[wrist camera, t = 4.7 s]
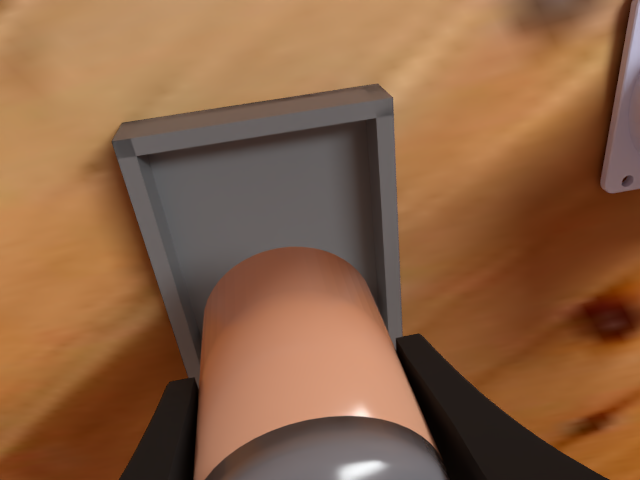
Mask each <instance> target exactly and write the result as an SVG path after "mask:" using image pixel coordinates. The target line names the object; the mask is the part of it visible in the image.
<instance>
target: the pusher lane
mask: <svg viewBox="0 0 640 480" xmlns="http://www.w3.org/2000/svg"><path fill="white" fill-rule="evenodd" d="M112 144H113V147H114V150H115V153H116V156H117V159H118V162H119V166H120V169H121V172H122V175H123V178H124V181H125V184H126V187H127V190H128V193H129V196H130V199H131V202H132V206H133V209H134V212H135V215H136V218H137V221H138V224H139V227H140V230H141V233H142V236H143V239H144V242H145V246H146V249H147V252H148V255H149V258H150V261H151V264H152V267H153V270H154V273H155V276H156V279H157V282H158V286H159V289H160V292H161V295H162V298H163V301H164V304H165V307H166V310H167V313H168V316H169V319H170V323H171V326H172V329H173V332H174V335H175V338H176V341H177V344H178V347H179V350H180V353H181V356H182V359H183V363H184V366H185V369H186V372H187V375H188V378H192V377H195V380H196V383H197V386H198V389H199V378H200V361H201V345H202V329H203V316H204V309H205V306H206V303H207V300H208V298H209V296H210V294H211V292H212V290H213V289H214V287H215V286H216V284H217V283H218V281H219V280H220V279H221V278H222V277H223V276H224V275H225V274H226V273H227V272H228V271H229V270H231V269H232V268H233V267H234V266H236V265H237V264H239V263H240V262H242V261H243V260H245V259H247V258H249V257H251V256H253V255H256V254H259V253H261V252H264V251H268V250H272V249H276V248H283V247H309V248H315V249H319V250H324V251H327V252H329V253H332V254H335V255H337V256H338V257H340V258H342V259H344V260H345V261H347V262H348V263H350V264H351V265H352V266H353V267H354V268H355V269H356V270H357V271H358V272H359V273H360V274H361V275H362V277H363V278H364V279H365V281H366V283H367V285H368V287H369V289H370V291H371V293H372V296H373V298H374V300H375V303H376V305H377V307H378V310H379V312H380V314H381V317H382V319H383V321H384V324H385V326H386V328H387V331H388V333H389V335H390V338H391V340H392V343H393V345H394V347H395V350H396V338H398V337H403V336H402V311H401V286H400V262H399V237H398V212H397V187H396V163H395V138H394V113H393V97H392V96H391V95H390V94H388V93H387V92H386V91H385V90H384V89H383V88H382V87H381V86H380V85H379V84H372V85H366V86H359V87H353V88H346V89H340V90H333V91H327V92H320V93H314V94H307V95H301V96H294V97H288V98H281V99H275V100H268V101H262V102H255V103H248V104H242V105H235V106H229V107H222V108H216V109H209V110H203V111H196V112H190V113H183V114H177V115H170V116H164V117H157V118H151V119H144V120H138V121H131V122H125V123H122V124H121V126H120V128H119V129H118V131H117V133H116V135H115V136H114V138H113V140H112Z"/></svg>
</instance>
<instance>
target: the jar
mask: <svg viewBox="0 0 640 480" xmlns="http://www.w3.org/2000/svg"><path fill="white" fill-rule="evenodd" d="M193 480H451V479H450V476H449V474H448V472H447V469H446V467H445V465H444V462H443V460H442V457H441V455H440V453H439V450H438V448H437V446H436V443H435V441H434V439H433V436H432V434H431V432H430V429H429V427H428V425H427V422H426V420H425V418H424V415H423V413H422V411H421V408H420V406H419V404H418V401H417V399H416V396H415V394H414V392H413V389H412V387H411V385H410V382H409V380H408V378H407V375H406V373H405V371H404V368H403V366H402V364H401V361H400V359H399V357H398V354H397V352H396V350H395V347H394V345H393V343H392V340H391V338H390V335H389V333H388V331H387V328H386V326H385V324H384V321H383V319H382V317H381V314H380V312H379V310H378V307H377V305H376V303H375V300H374V298H373V296H372V293H371V291H370V289H369V287H368V285H367V283H366V281H365V279H364V278H363V277H362V275H361V274H360V273H359V272H358V271H357V270H356V269H355V268H354V267H353V266H352V265H351V264H350V263H348V262H347V261H345V260H344V259H342V258H340V257H338V256H337V255H335V254H332V253H329V252H327V251H324V250H319V249H315V248H309V247H283V248H276V249H272V250H268V251H264V252H261V253H259V254H256V255H253V256H251V257H249V258H247V259H245V260H243V261H242V262H240V263H239V264H237V265H236V266H234V267H233V268H232V269H231V270H229V271H228V272H227V273H226V274H225V275H224V276H223V277H222V278H221V279H220V280H219V281H218V283H217V284H216V286H215V287H214V289H213V290H212V292H211V294H210V296H209V298H208V300H207V303H206V306H205V309H204V316H203V329H202V345H201V361H200V378H199V394H198V410H197V426H196V442H195V458H194V474H193Z"/></svg>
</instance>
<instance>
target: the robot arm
mask: <svg viewBox="0 0 640 480" xmlns="http://www.w3.org/2000/svg"><path fill="white" fill-rule="evenodd" d="M626 176H627V179H626V180H625V181H624V182H622V180H623V179H624V178H625V177H626ZM600 185H601V187H602V189H603V190H605V191H607V192H608V193H618V192H624V191H630V190H635V189H640V0H633V1H632V3H631V8H630V14H629V20H628V26H627V31H626V37H625V43H624V49H623V54H622V60H621V66H620V72H619V78H618V83H617V89H616V95H615V101H614V106H613V112H612V118H611V124H610V129H609V135H608V141H607V147H606V152H605V158H604V164H603V170H602V176H601V181H600ZM396 352H397V354H398V357H399V359H400V361H401V364H402V366H403V368H404V371H405V373H406V375H407V378H408V380H409V382H410V385H411V387H412V389H413V392H414V394H415V396H416V399H417V401H418V404H419V406H420V408H421V411H422V413H423V415H424V418H425V420H426V422H427V425H428V427H429V429H430V432H431V434H432V436H433V439H434V441H435V443H436V446H437V448H438V450H439V453H440V455H441V457H442V460H443V462H444V465H445V467H446V469H447V472H448V474H449V476H450V479H451V480H609V479H607V478H605V477H603V476H601V475H600V474H598V473H596V472H594V471H593V470H591V469H589V468H588V467H586V466H584V465H582V464H581V463H579V462H577V461H575V460H574V459H572V458H570V457H569V456H567V455H565V454H563V453H562V452H560V451H559V450H557V449H556V448H554V447H553V446H551V445H549V444H548V443H546V442H545V441H543V440H542V439H540V438H539V437H538V436H536V435H535V434H533V433H532V432H530V431H529V430H527V429H526V428H525V427H523V426H522V425H521V424H519V423H518V422H517V421H515V420H514V419H513V418H511V417H510V416H509V415H507V414H506V413H505V412H504V411H502V410H501V409H500V408H499V407H497V406H496V405H495V404H494V403H492V402H491V401H490V400H489V399H488V398H486V397H485V396H484V395H483V394H482V393H481V392H479V391H478V390H477V389H476V388H475V387H474V386H473V385H472V384H471V383H469V382H468V381H467V380H466V379H465V378H464V377H463V376H462V375H461V374H460V373H459V372H457V371H456V370H455V369H454V368H453V367H452V366H451V365H450V364H449V363H448V362H447V361H446V360H445V359H444V358H443V357H442V356H441V355H440V354H439V353H438V352H437V351H436V350H435V349H434V348H433V347H432V345H431V344H430V343H429V342H428V341H427V340H426V339H425V338H424V337H423V336H422V335H420V334H414V335H409V336H404V337H398V338H396ZM198 394H199V389H198V386H197V383H196V380H195V377H192V378H187V379H182V380H177V381H172V382H169V384H168V385H167V386H166V388H165V391H164V393H163V395H162V397H161V400H160V402H159V404H158V406H157V409H156V411H155V413H154V415H153V417H152V419H151V421H150V423H149V425H148V427H147V429H146V431H145V433H144V435H143V437H142V439H141V441H140V443H139V445H138V446H137V448H136V450H135V452H134V454H133V456H132V458H131V460H130V461H129V463H128V465H127V467H126V468H125V470H124V472H123V473H122V475H121V477H120V478H119V480H193V474H194V458H195V442H196V426H197V410H198Z"/></svg>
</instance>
